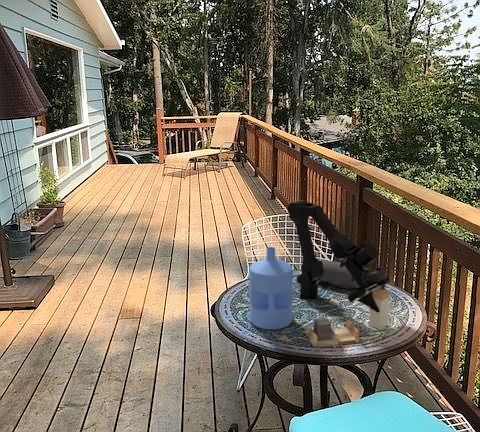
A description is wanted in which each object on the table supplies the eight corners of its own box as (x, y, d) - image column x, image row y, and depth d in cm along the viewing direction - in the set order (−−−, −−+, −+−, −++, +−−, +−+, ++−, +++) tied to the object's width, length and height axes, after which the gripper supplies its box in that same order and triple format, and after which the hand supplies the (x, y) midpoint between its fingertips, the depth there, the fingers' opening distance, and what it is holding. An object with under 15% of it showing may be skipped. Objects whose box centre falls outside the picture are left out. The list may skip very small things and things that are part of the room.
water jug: (250, 310, 189) (248, 241, 181) (291, 310, 188) (291, 240, 180) (249, 330, 174) (248, 256, 166) (294, 330, 173) (294, 256, 165)
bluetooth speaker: (371, 287, 206) (372, 264, 203) (364, 295, 199) (365, 272, 196) (320, 276, 218) (321, 255, 215) (312, 284, 210) (312, 262, 208)
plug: (369, 325, 176) (371, 291, 172) (376, 320, 178) (378, 288, 175) (380, 329, 172) (382, 295, 169) (387, 325, 175) (389, 291, 171)
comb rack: (306, 335, 170) (306, 317, 168) (349, 330, 172) (349, 312, 170) (314, 347, 162) (314, 328, 160) (359, 342, 165) (359, 323, 163)
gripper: (355, 268, 166) (382, 309, 161) (387, 254, 177) (413, 292, 172) (336, 282, 174) (361, 322, 169) (368, 268, 185) (391, 305, 180)
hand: (382, 309), depth 172 cm, fingers closed on plug, 4 cm apart
